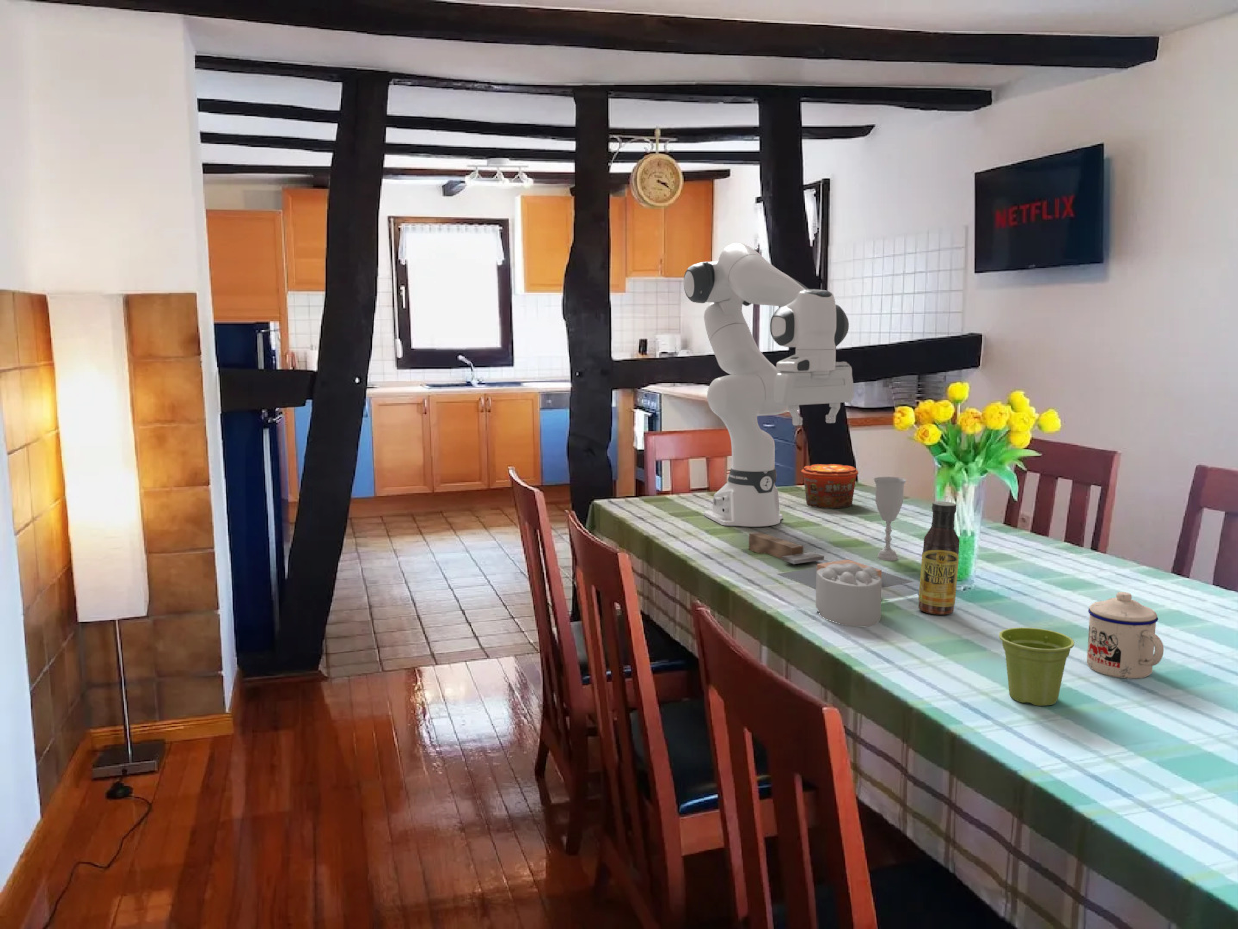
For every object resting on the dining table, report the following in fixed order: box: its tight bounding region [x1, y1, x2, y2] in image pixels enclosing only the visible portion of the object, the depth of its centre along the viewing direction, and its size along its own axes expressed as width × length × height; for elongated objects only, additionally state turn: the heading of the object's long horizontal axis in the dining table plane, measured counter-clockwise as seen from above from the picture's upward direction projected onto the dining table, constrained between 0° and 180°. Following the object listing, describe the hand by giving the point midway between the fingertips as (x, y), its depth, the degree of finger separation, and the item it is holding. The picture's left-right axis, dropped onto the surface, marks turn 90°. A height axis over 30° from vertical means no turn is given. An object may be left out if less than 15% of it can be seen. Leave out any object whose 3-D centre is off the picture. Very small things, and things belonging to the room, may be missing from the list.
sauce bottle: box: [918, 501, 960, 616], centre depth 166 cm, size 6×6×20 cm
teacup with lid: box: [1086, 591, 1165, 680], centre depth 136 cm, size 12×9×12 cm
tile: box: [816, 559, 883, 578], centre depth 186 cm, size 2×8×10 cm
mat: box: [777, 567, 914, 590], centre depth 188 cm, size 18×20×1 cm
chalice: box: [873, 476, 907, 561], centre depth 202 cm, size 7×7×18 cm
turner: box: [748, 531, 825, 565], centre depth 206 cm, size 20×8×4 cm, turn 27°
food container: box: [800, 463, 859, 509], centre depth 267 cm, size 16×16×11 cm
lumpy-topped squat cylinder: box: [815, 563, 883, 627], centre depth 165 cm, size 10×13×9 cm
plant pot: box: [998, 627, 1075, 707], centre depth 128 cm, size 9×9×9 cm
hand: (814, 424), depth 210 cm, fingers open, 8 cm apart
